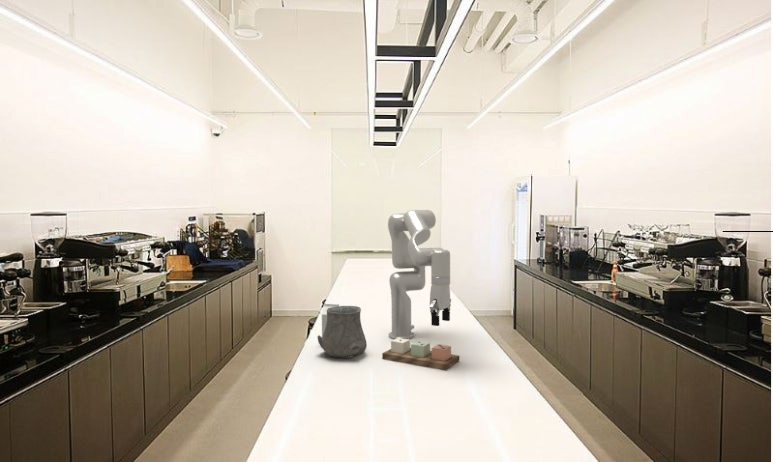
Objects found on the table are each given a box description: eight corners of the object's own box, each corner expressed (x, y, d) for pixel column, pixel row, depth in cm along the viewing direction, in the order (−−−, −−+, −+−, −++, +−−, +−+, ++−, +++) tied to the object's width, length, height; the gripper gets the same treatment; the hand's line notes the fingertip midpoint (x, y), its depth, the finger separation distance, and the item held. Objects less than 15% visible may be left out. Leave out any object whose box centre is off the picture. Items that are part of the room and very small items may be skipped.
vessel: (330, 366, 201) (330, 317, 200) (312, 352, 221) (311, 306, 219) (379, 358, 211) (379, 311, 210) (357, 345, 231) (357, 301, 229)
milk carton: (337, 347, 227) (336, 306, 225) (322, 347, 228) (321, 305, 227) (341, 343, 234) (341, 302, 232) (327, 342, 235) (326, 302, 234)
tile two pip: (411, 355, 207) (411, 343, 207) (417, 351, 212) (417, 340, 212) (423, 357, 204) (423, 345, 204) (430, 353, 209) (430, 342, 209)
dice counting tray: (382, 359, 210) (382, 353, 210) (398, 351, 221) (398, 345, 221) (446, 370, 195) (446, 364, 195) (459, 361, 206) (459, 355, 206)
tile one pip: (391, 351, 212) (391, 340, 212) (398, 348, 217) (398, 337, 217) (403, 354, 209) (403, 342, 209) (409, 350, 214) (409, 339, 214)
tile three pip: (431, 359, 202) (431, 347, 202) (438, 355, 207) (438, 343, 207) (445, 361, 199) (445, 349, 199) (451, 357, 204) (451, 345, 204)
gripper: (441, 277, 211) (441, 317, 212) (422, 282, 196) (422, 326, 197) (458, 278, 207) (458, 319, 208) (439, 284, 192) (439, 328, 193)
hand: (440, 323), depth 202 cm, fingers open, 9 cm apart
